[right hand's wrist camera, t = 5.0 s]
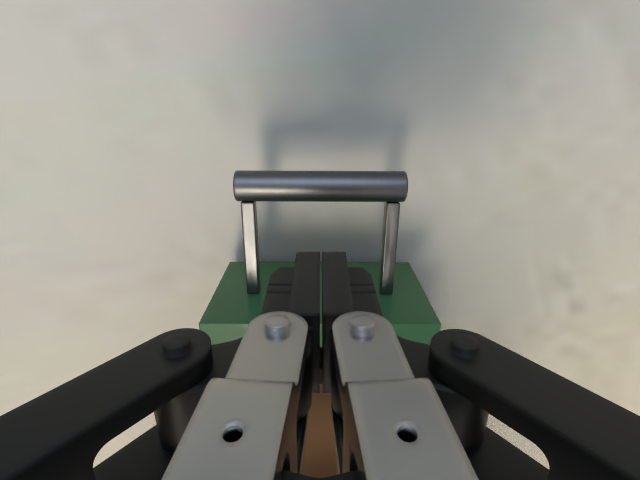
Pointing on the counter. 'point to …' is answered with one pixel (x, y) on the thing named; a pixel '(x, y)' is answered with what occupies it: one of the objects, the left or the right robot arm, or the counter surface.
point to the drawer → (253, 276)
